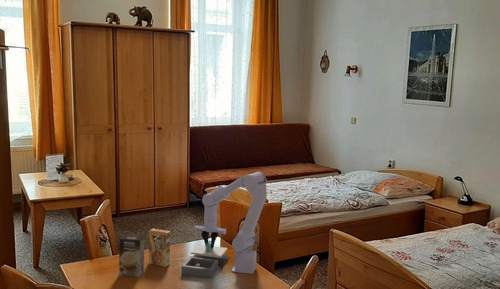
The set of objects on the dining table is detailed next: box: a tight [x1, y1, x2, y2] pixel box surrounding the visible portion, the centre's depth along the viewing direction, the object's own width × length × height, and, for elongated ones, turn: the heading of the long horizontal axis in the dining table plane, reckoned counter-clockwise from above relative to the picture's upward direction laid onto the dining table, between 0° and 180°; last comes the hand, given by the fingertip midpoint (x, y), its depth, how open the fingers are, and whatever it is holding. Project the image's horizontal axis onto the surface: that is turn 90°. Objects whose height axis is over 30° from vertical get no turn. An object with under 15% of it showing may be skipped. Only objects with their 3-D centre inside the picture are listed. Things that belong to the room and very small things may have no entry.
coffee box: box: [118, 233, 145, 278], centre depth 197 cm, size 9×6×16 cm
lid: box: [190, 240, 228, 258], centre depth 215 cm, size 14×12×5 cm
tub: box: [180, 256, 219, 280], centre depth 202 cm, size 13×11×4 cm
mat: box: [192, 254, 230, 268], centre depth 216 cm, size 16×13×1 cm
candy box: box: [148, 228, 171, 267], centre depth 208 cm, size 9×4×15 cm, turn 70°
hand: (209, 247), depth 215 cm, fingers closed on lid
